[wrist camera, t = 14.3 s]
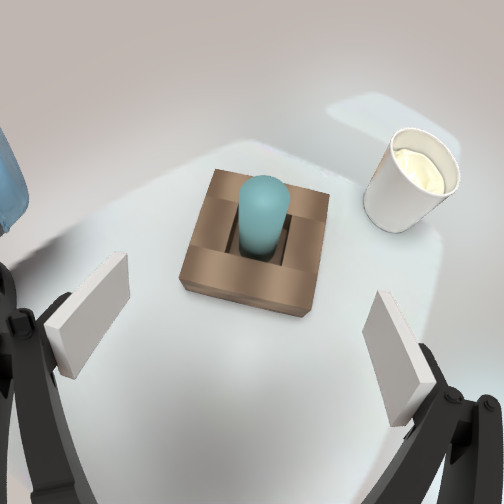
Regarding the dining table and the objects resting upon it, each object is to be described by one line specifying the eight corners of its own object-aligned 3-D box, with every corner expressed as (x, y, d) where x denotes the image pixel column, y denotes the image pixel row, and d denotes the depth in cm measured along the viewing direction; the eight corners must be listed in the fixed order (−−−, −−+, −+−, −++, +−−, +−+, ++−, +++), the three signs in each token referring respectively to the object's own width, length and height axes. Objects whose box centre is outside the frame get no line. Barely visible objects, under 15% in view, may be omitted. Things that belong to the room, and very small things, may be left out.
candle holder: (346, 185, 43) (375, 131, 32) (397, 173, 45) (432, 124, 33) (377, 247, 40) (420, 204, 29) (427, 228, 41) (473, 187, 30)
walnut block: (186, 289, 37) (178, 278, 32) (217, 190, 42) (215, 168, 37) (301, 317, 36) (311, 309, 32) (320, 213, 41) (329, 194, 37)
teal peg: (234, 260, 38) (233, 212, 26) (243, 227, 39) (245, 170, 28) (271, 268, 37) (284, 224, 26) (278, 235, 39) (293, 181, 28)
